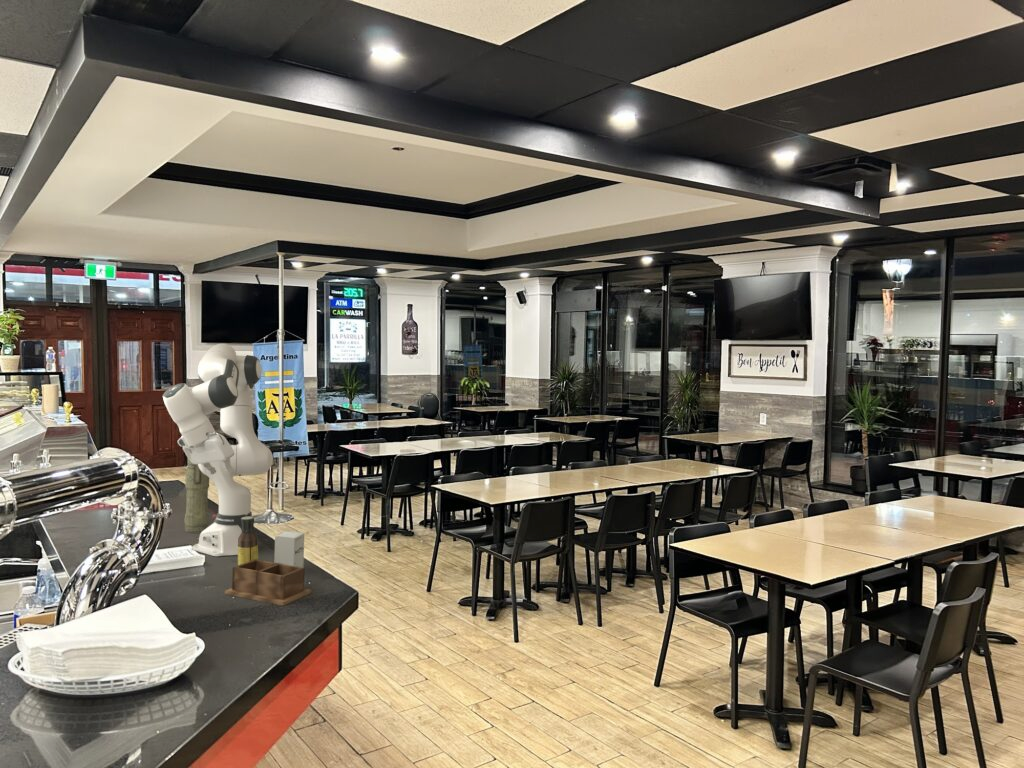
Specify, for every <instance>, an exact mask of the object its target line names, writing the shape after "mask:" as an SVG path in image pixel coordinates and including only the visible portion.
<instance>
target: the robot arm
mask: <svg viewBox="0 0 1024 768" xmlns="http://www.w3.org/2000/svg"><path fill="white" fill-rule="evenodd" d="M262 371H263V368H262V364H261V361H260V359H259V358H258V357H257V356H255V355H249V354H245V355H238V354H237V352H236V350H235V349H234V348H233V346H231V345H229V344H227V343H218V344H215V345H213V346H212V347H210V348H209V349H207V351H206V352H205V353H204V354H203V356H202V357H201V359H200V360H199V363H198V366H197V376H198V379H199V381H200V384H197V385H195V386H191V387H189V386H188V385H187V384H186V383H183V382H182V383H181V382H180V383H177V384H174V385H173V386H170V388H168V389H167V390H166V391H165V392H163V394H162V398H163V399H162V400H163V402H164V406H165V407H166V410H167V411H168V414H169V415H170V417H171V419H172V420H173V422H174V423H175V424H176V425H177V427H178V429H179V433H180V434H181V437H180V438H178V440H177V444H178V446H180V447H182V450H183V452H184V453H185V456H186V457H187V459H188V458H189V460H190V461H191V462H192V463H193V464H198V467H199V469H200V470H201V472H202V473H204V474H205V475H207V476H208V477H209V480H211V481H212V483H213V485H214V486H215V488H216V491H217V497H218V498H217V500H218V512H217V513H214V514H212V518H215V519H214V521H213V522H212V523H211V524H210V525H208V527H207V528H206V529H205V530H203V531H202V532H200V534H199V537H198V543H195V544H193V545H192V546H191V550H192V549H193V551H195V552H199V553H201V554H202V553H203V554H205V555H209V556H213V557H223V556H238V538H239V536H240V534H241V533H242V523H241V518H242V517H247V516H251V517H253V515H252V514H253V512H252V511H251V506H252V492H251V490H250V489H249V487H248V486H246V485H244V484H242V483H239V482H237V481H236V480H234V476H245V475H246V476H247V475H248V476H250V475H259V474H264V473H267V472H268V471H269V470H270V469H271V467H272V465H273V463H274V455H273V453H272V451H271V449H270V448H269V447H268V446H266V445H265V444H264V443H262V441H261V440H260V439H259V438H258V437H257V434H256V433H255V430H254V425H253V400H252V398H253V397H252V393H251V389H253V387H255V385H256V384H257V383H258V382H259V381H260V379H261V377H262ZM219 410H220V413H219V416H220V417H219V418H220V419H219V423H220V425H219V427H220V430H221V431H222V432H223V433H224V434H226V435H228V436H230V437H231V438H234V439H236V441H237V442H238V443H237V444H230V443H229V441H228V440H227V438H226V437H225V436H224V435H222V434H220V433H219V432H218V431H216V430H215V428H214V426H213V425H212V423H211V420H210V419H209V417H208V416H207V415H210V414H213V413H215V412H217V411H219Z"/></svg>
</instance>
